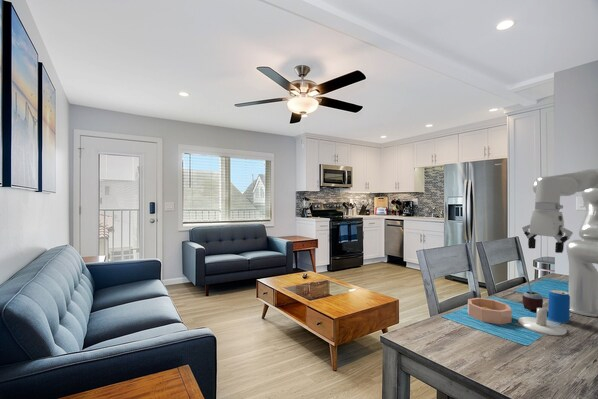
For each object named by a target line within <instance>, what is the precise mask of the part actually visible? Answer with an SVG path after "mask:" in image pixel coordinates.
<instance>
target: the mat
mask: <svg viewBox="0 0 598 399" xmlns="http://www.w3.org/2000/svg"><path fill="white" fill-rule="evenodd" d="M513 325H516V326H518V327H521V328H524V329H525V330H528V331H531V332H533V333H536V334H538V335H540V336H543V337H546V336H547V337H548V336H549V335H548V334H542V333H538V332H535V331H532V330H529V329H527V328H525V327H523V326H521V325H520V324H519V323H518V322H515V323H513ZM565 328H566V330H567V332H568V331H571V329H569V328H567V327H565Z"/></svg>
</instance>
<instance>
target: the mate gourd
mask: <svg viewBox="0 0 598 399" xmlns="http://www.w3.org/2000/svg"><path fill="white" fill-rule="evenodd" d="M522 276H524V278H525V279H526V283H527V285H528V290H529V291H525V292H524V293H523V294H522V297H521V298H522V299H521V300H522V304H523V308H524V309H526V310H529V311H530V312H531V313H532V312H534V311H535V312H537V308H543V307H544V306H543V303H544V300H543V296H542V295H541V294H540V293H538V292H536V291H532V289H531V288H532V287H531V285H530V280H529V279H528V277H527V276H526V274H522Z"/></svg>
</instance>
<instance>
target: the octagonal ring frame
mask: <svg viewBox="0 0 598 399" xmlns="http://www.w3.org/2000/svg"><path fill="white" fill-rule="evenodd" d="M481 307H488V308H490V309H484V308H481ZM512 313H513V310H512V308H511V307H510V305H509V304H507V303H505V302H501V301H499V300H496V299H491V298H484V297H474V298H468V299H467V314H468V316H469V317H471V318H473V319H475V320H478V321H480V322H484V323H489V324H490V323H491V324H496V325H506V324H510V323H512V322H513V321H512V315H513V314H512Z"/></svg>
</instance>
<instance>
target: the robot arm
mask: <svg viewBox="0 0 598 399" xmlns="http://www.w3.org/2000/svg"><path fill="white" fill-rule="evenodd" d="M532 191H533V192H534V194H535V203H534V210H532V214H531V216H530V217H531V218H530V223H529V224H528V225H524V226H523V227H522V228H521V229H522V230H523V232H524V235H525V236H526V239H528V242H527V243H528V244H527V245H528V249H536V243H537V240H536V237H537V236H541V237H542V236H543V237H551V238H554V239H555V240H556V241H557V242H555V250H554V252H555V253H556V254H562V253H563V251H564V246H565V243H566V242H567V241H568V240H570V239H571V237H572V235H573V231H571V230H569V229H568V228H565V220H564V215H563V212H562V211H560V210H563V208H564V205H563V204H561V197H570V196H573V195H575V194H577V193H579V192H581V198H582V201H583V203H584V204H583V205H584V207H585V210H586V211H585V215H584V217H583V220H582V221H581V224H580V227H579V229H578V237H580V238H581V239H572V240H570V241H569V242H568V243H567V244H566V254H567V260H568V293H569V294H568V295H569V296H570V312H571V313H573V314H577V315H580V316H586V317H592V318H593V317H594V318H595V317H596V318H598V269H597V268H596V267H595V265H598V168H591V169H590V168H589V169H584V170H580V171H575V172H569V173H562V174H557V175H549V176H539V177H537V179H536V180H535V181H534V183H533V184H532ZM594 264H595V265H594Z"/></svg>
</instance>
